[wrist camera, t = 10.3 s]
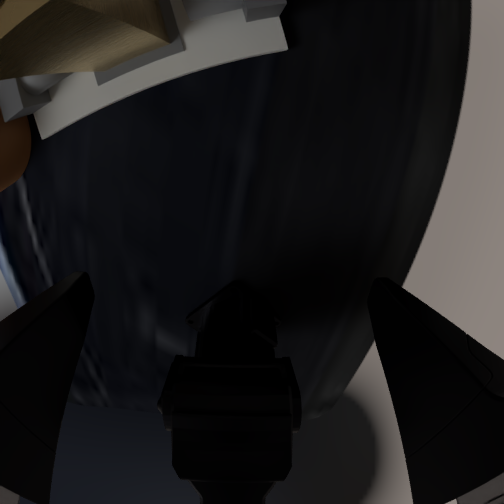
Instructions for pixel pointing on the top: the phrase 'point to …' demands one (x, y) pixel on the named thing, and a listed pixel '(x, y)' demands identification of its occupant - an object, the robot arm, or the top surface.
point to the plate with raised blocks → (151, 61)
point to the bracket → (13, 149)
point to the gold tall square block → (76, 35)
